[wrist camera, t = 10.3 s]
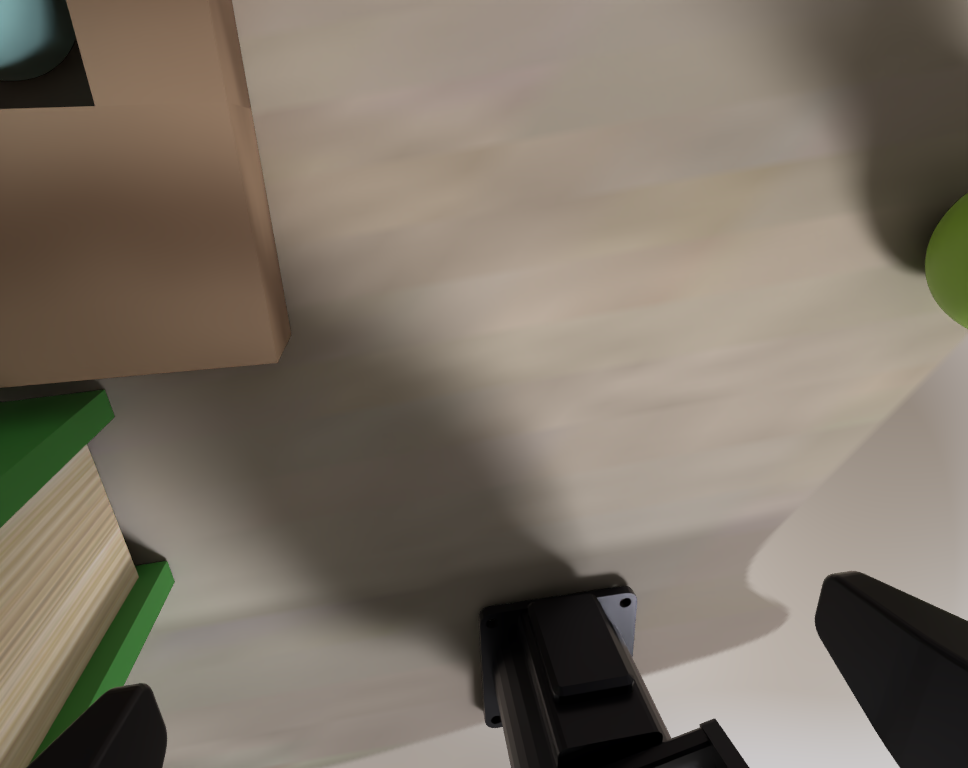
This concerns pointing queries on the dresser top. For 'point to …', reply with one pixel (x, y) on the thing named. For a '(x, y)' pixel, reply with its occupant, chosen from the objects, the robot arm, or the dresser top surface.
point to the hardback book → (62, 574)
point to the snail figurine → (950, 262)
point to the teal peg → (33, 37)
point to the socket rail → (139, 208)
